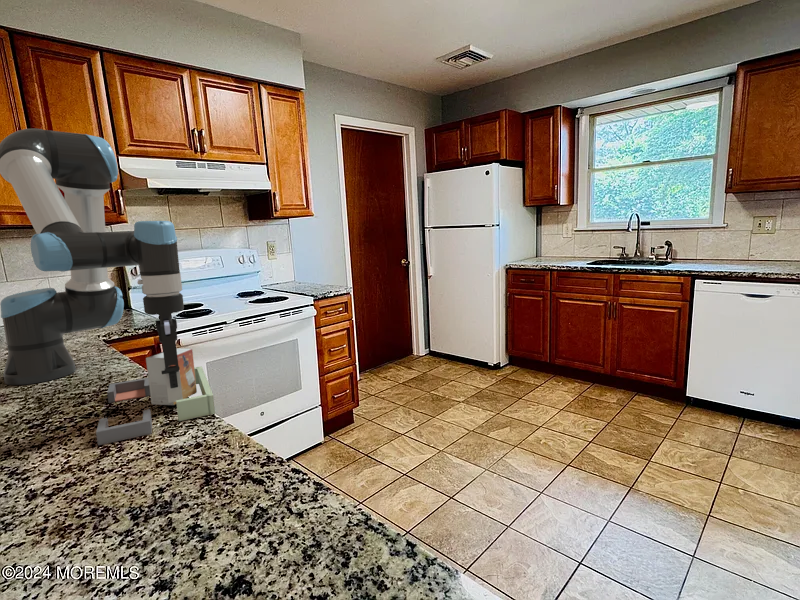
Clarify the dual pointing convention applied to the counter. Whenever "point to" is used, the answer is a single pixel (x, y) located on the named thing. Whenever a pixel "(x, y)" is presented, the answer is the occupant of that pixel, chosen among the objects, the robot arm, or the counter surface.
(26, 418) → the counter surface
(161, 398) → the small box
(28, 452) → the counter surface
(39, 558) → the counter surface
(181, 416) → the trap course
